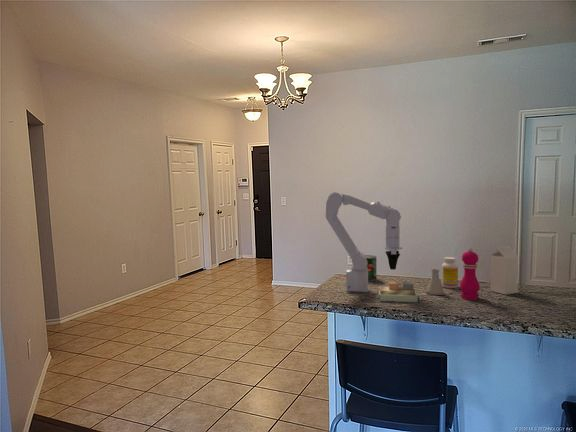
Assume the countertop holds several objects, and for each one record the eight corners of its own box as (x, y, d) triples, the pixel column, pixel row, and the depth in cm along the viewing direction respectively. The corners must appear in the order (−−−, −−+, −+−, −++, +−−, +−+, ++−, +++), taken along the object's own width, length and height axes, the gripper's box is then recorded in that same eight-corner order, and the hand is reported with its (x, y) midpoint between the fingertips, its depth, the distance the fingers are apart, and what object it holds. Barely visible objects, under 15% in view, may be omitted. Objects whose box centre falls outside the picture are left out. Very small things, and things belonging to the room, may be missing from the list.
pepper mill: (481, 300, 159) (482, 249, 157) (461, 299, 160) (462, 248, 159) (477, 295, 166) (477, 246, 164) (457, 295, 167) (458, 246, 166)
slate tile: (403, 290, 167) (403, 284, 167) (402, 287, 171) (402, 281, 171) (413, 290, 166) (413, 284, 166) (412, 288, 170) (412, 282, 170)
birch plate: (379, 297, 166) (379, 290, 166) (378, 292, 174) (378, 286, 174) (415, 298, 164) (415, 291, 164) (412, 293, 172) (412, 287, 172)
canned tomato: (361, 280, 196) (361, 257, 195) (358, 277, 204) (358, 255, 203) (378, 280, 195) (377, 257, 195) (375, 277, 203) (375, 255, 203)
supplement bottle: (460, 288, 178) (460, 259, 177) (444, 288, 178) (444, 259, 177) (454, 284, 185) (454, 256, 184) (439, 285, 185) (439, 256, 184)
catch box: (379, 301, 160) (379, 294, 160) (378, 297, 166) (378, 291, 166) (418, 302, 158) (418, 296, 158) (416, 298, 164) (416, 292, 163)
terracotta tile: (389, 289, 168) (389, 283, 168) (388, 287, 172) (388, 281, 172) (399, 290, 167) (399, 283, 167) (398, 287, 171) (398, 281, 171)
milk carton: (517, 293, 169) (518, 247, 168) (504, 295, 166) (505, 248, 165) (502, 289, 176) (503, 245, 174) (490, 291, 173) (491, 246, 172)
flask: (447, 295, 167) (447, 271, 167) (429, 295, 168) (429, 271, 167) (440, 291, 175) (441, 267, 174) (423, 291, 175) (423, 267, 174)
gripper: (403, 239, 168) (403, 272, 169) (400, 235, 182) (400, 265, 183) (386, 239, 169) (386, 271, 170) (384, 235, 183) (384, 265, 184)
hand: (392, 268), depth 176 cm, fingers open, 3 cm apart
